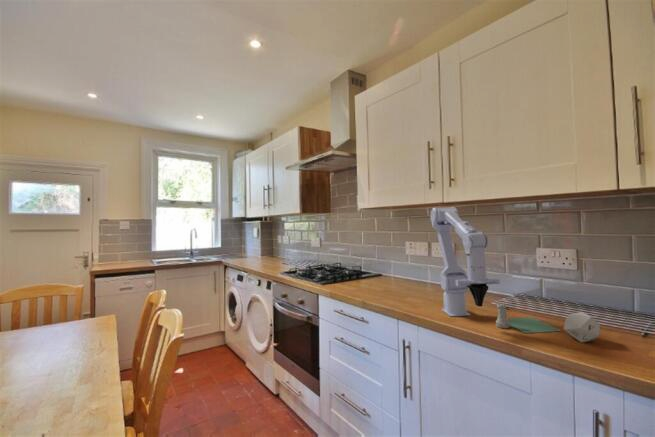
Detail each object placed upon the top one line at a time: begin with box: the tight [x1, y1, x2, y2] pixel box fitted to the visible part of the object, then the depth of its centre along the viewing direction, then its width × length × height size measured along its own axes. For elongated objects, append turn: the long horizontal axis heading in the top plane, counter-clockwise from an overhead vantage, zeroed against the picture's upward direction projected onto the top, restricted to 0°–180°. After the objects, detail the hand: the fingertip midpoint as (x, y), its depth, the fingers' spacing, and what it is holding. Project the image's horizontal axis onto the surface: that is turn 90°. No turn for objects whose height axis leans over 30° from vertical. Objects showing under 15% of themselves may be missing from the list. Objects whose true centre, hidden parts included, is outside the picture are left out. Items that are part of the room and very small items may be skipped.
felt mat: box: [507, 317, 562, 334], centre depth 106 cm, size 14×12×1 cm
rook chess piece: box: [495, 302, 511, 329], centre depth 106 cm, size 4×4×8 cm
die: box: [563, 311, 601, 343], centre depth 92 cm, size 8×9×10 cm
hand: (478, 305), depth 106 cm, fingers closed
